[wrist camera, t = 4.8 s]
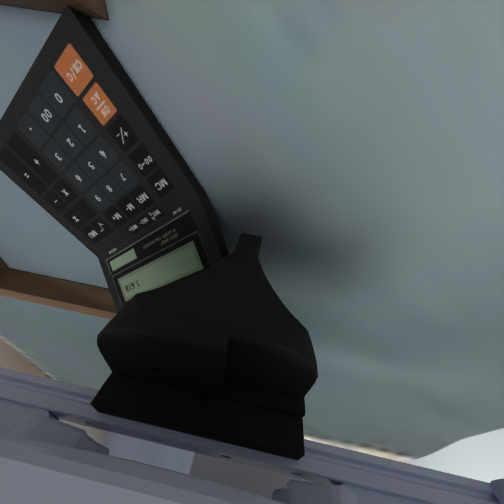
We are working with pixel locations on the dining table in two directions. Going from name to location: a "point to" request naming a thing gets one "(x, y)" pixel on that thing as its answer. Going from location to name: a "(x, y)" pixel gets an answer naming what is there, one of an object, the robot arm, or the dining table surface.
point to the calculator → (106, 165)
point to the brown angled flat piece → (44, 287)
